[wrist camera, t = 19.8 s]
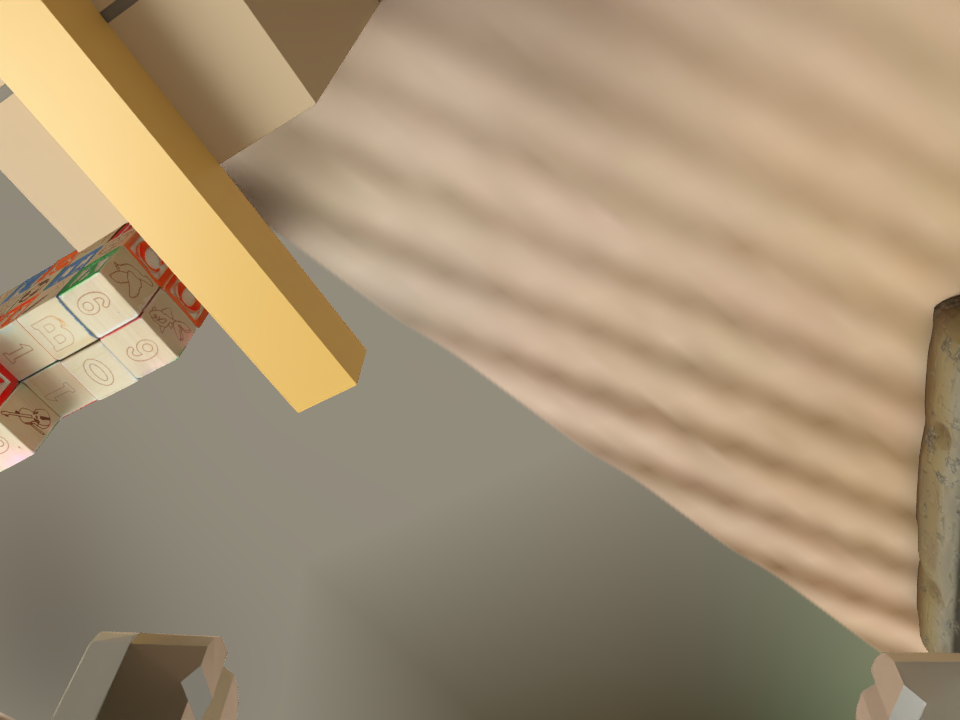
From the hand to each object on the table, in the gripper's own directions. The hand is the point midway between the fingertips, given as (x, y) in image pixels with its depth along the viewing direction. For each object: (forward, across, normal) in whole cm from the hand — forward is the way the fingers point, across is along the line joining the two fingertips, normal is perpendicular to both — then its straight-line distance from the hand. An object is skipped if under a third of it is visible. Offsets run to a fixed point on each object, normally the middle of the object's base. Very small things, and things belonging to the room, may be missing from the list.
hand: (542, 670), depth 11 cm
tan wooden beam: (+23, +15, 0) cm, 27 cm away
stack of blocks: (+39, +29, +19) cm, 53 cm away
